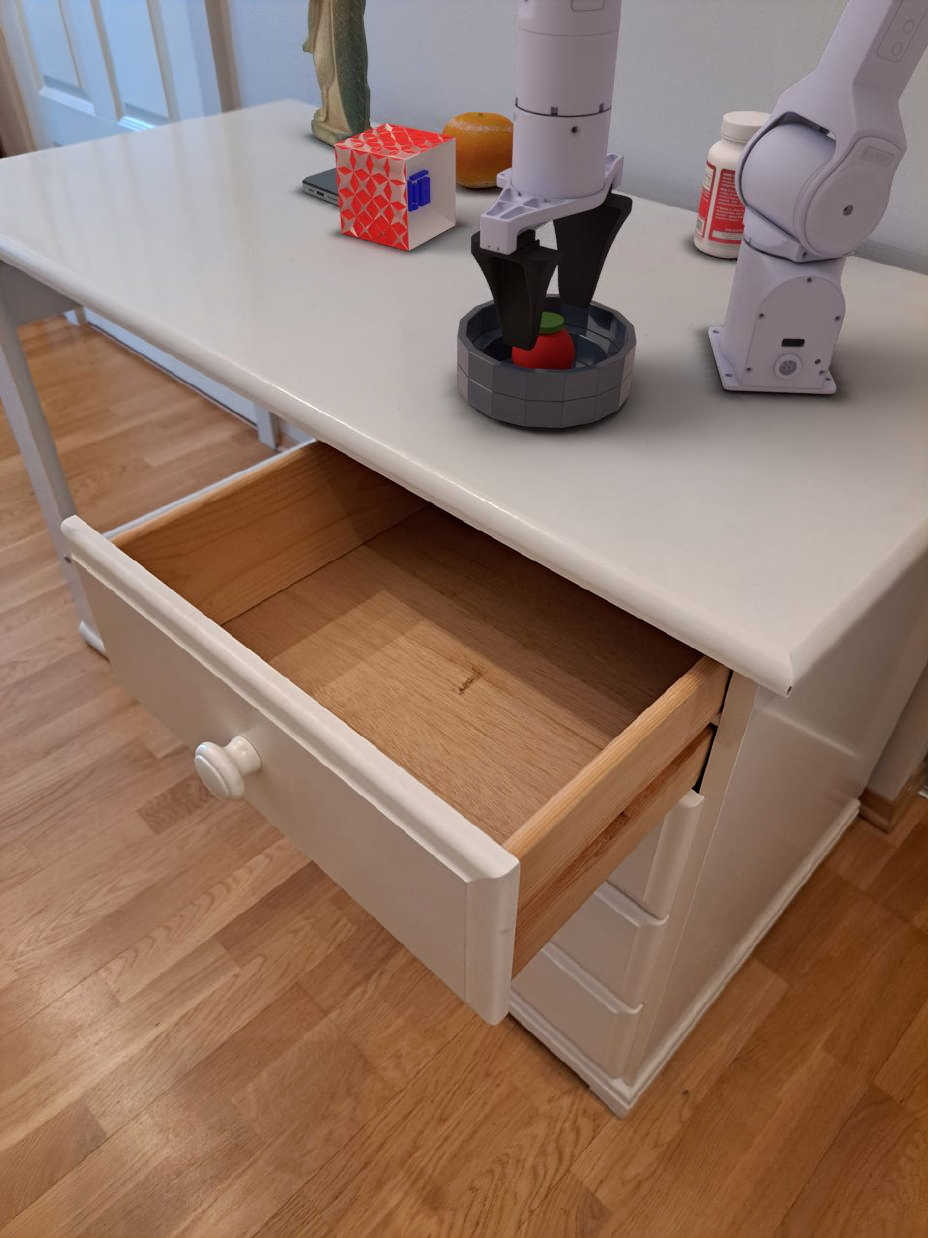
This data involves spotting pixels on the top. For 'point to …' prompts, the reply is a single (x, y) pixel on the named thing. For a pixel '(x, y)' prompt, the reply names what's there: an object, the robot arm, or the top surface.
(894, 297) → the top surface
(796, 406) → the top surface
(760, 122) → the pill bottle
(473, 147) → the fruit
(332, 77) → the statue
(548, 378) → the bowl
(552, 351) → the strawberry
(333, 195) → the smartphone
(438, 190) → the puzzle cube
